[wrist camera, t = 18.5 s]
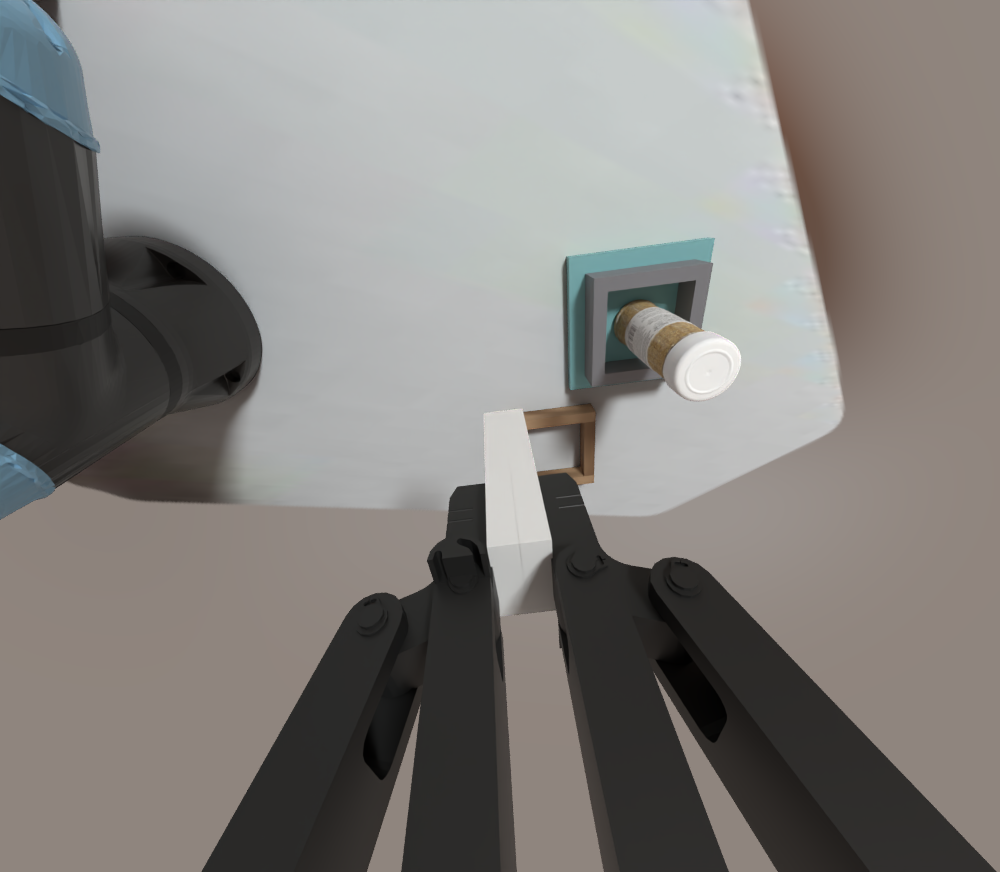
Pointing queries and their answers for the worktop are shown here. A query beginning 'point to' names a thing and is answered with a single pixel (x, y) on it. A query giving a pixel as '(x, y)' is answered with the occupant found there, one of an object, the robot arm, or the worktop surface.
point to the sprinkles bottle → (678, 350)
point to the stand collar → (587, 436)
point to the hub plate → (614, 283)
